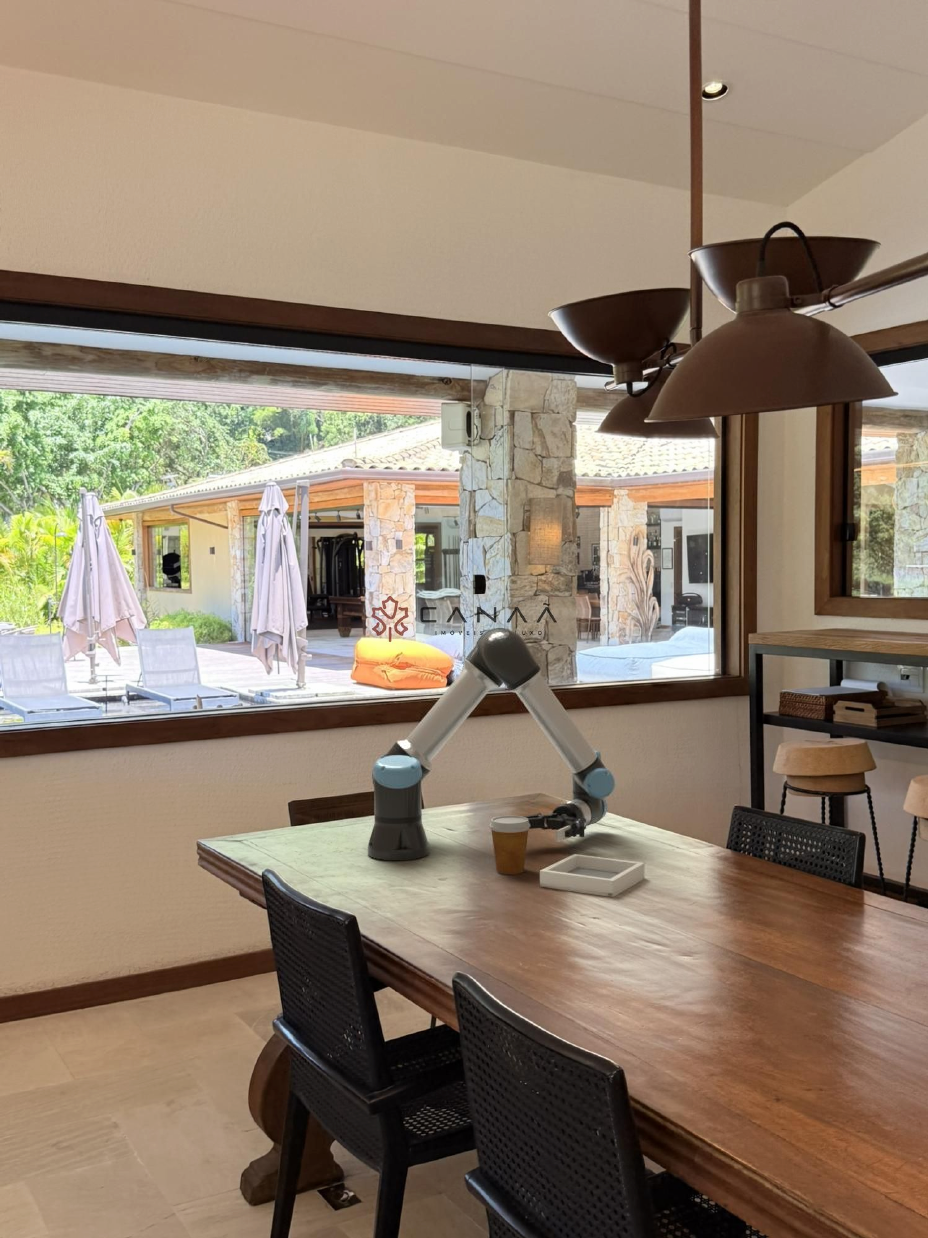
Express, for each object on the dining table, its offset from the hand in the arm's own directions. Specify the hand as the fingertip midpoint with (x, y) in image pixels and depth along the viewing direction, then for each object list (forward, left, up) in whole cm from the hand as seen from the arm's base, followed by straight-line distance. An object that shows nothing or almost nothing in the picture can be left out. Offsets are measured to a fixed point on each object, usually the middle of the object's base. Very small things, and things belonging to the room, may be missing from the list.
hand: (531, 833), depth 277 cm
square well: (+21, -11, -7) cm, 24 cm away
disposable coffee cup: (0, -11, -7) cm, 13 cm away
